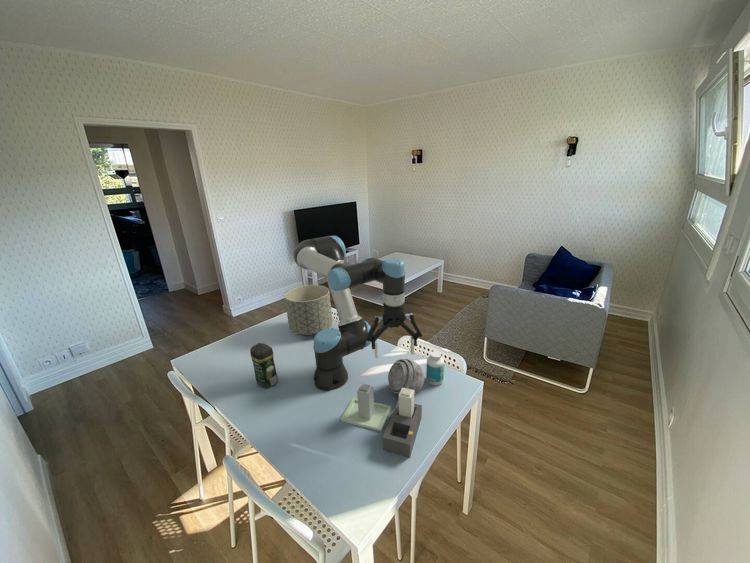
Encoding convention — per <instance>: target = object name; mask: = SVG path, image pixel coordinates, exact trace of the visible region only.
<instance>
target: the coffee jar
mask: <svg viewBox="0 0 750 563" xmlns="http://www.w3.org/2000/svg"><path fill="white" fill-rule="evenodd" d="M249 351H250V358H251V360H252V364H253V371H254V378H255V381H256V384H257V385H258V386H260V387H261V388H264V389H267V388H270V387H273V386H275V385H276V384H277V383H278V382H279V381H278V380H279V378H278V372H277V369H276V365H275V359H274V350H273V348H272V347H271V346H270V345H268V344H266V343H263V342H258V343H256V344H254V345H252V346H251V348H250V350H249Z"/></svg>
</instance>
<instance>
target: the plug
mask: <svg viewBox="0 0 750 563" xmlns="http://www.w3.org/2000/svg"><path fill="white" fill-rule="evenodd" d="M356 393H357V394H356V396H357V397H356V398H358V411H359V417H360V418H364V419H368V420H370V419H371V417H372V415H373V413H374V402H375V400H374V398H375V396H374V386H373V385H372V384H366V383H364V382H363V383H361V384H360V385H359V387H358V388H357V390H356Z"/></svg>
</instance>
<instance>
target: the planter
mask: <svg viewBox="0 0 750 563" xmlns="http://www.w3.org/2000/svg"><path fill="white" fill-rule="evenodd" d="M284 303H285V308H286V310H285V311H286V317H287V322H288V328H289V330H290V332H292V333H293V334H296V335H302V336H306V335H307V336H313V335H316V334H317V333H318V332H320V331H322V330H324V329H327V328H329V329H330V327H331V326H332V325H333V316H332V315H333V314H332V303H331V291H330V288H329V287H326V286H324V285H317V284H311V285H310V284H309V285H308V284H307V285H301V286H297V287H294V288H291V289H289V290H288V291H287V292H285V294H284Z"/></svg>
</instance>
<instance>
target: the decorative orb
mask: <svg viewBox="0 0 750 563" xmlns="http://www.w3.org/2000/svg"><path fill="white" fill-rule="evenodd" d="M424 374H425V373H424V371H423V369H422V367H421V365H420V364H419V363H417V362H416V361H414V360H412V359H409V358H400V359H397V360H396V361H394V362H393V364H392V365H391V366H390V368H389V371H388V375H387V379H388V380H387V381H388V386H389V388H390V391H391V392H393V393H394V394H395V395H397V396H399V394H400V391H401V389H402V388H407V389H412V390H414V396H416V395H417V394H418V393H419V392H420V391H421V390H422V388H423V386H424V385H425V384H424V383H425V375H424Z"/></svg>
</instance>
